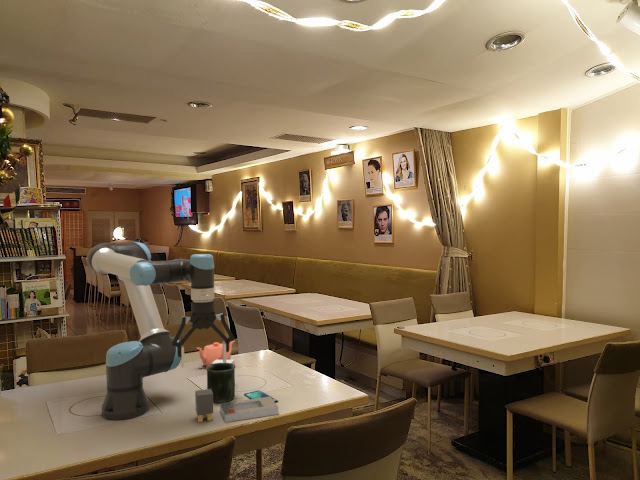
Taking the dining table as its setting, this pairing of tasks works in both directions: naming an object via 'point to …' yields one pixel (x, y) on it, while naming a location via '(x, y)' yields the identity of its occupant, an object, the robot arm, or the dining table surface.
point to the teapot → (214, 353)
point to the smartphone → (258, 395)
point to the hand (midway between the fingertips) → (203, 364)
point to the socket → (248, 409)
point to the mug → (221, 381)
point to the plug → (204, 404)
